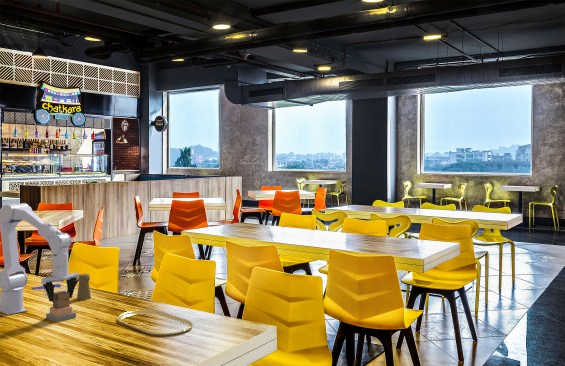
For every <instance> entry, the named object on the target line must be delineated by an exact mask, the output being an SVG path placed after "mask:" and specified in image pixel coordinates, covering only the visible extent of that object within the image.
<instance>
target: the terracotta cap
mask: <svg viewBox="0 0 565 366" xmlns="http://www.w3.org/2000/svg"><path fill="white" fill-rule="evenodd" d="M72 312H73V306H71V305H70V306H69V307H64V308H60V309H58V308H55V307H53V306H49V313H50V314H52V315H55V316H61V315H66V314H70V313H72Z"/></svg>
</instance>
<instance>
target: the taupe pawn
mask: <svg viewBox="0 0 565 366" xmlns="http://www.w3.org/2000/svg"><path fill="white" fill-rule="evenodd" d="M90 279H91V275H90V274H88V273H81V274H80V273H79V278H78V287H77V295H76V300H78V301H87V300H91V299H92V294H91V289H90V288H91V287H90Z"/></svg>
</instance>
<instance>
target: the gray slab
mask: <svg viewBox="0 0 565 366" xmlns="http://www.w3.org/2000/svg"><path fill="white" fill-rule="evenodd" d="M76 318H77V313H76V312H74V311H72V313H70V314H66V315H61V316H55V315H52V314H50V312H48V313H45V319H47V320H49V321H52V322H54V323H60V322H64V321H68V320H73V319H76Z"/></svg>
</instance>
